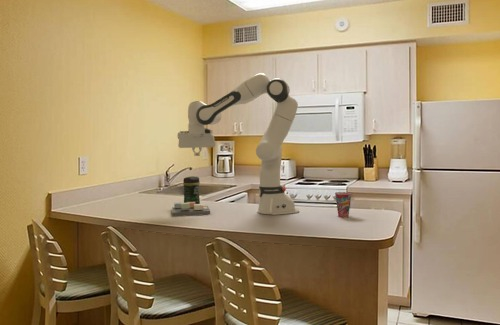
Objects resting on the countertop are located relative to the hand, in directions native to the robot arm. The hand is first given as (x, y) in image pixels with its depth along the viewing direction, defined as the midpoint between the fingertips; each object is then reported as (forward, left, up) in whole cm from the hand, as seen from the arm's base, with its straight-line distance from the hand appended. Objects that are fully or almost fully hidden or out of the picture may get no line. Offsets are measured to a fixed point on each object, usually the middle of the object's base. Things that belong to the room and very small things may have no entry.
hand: (197, 155), depth 246 cm
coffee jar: (+3, -13, -31) cm, 34 cm away
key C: (+4, -1, -29) cm, 29 cm away
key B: (+8, +7, -28) cm, 30 cm away
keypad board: (+4, +3, -31) cm, 32 cm away
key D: (+11, -1, -29) cm, 31 cm away
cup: (-71, +37, -31) cm, 86 cm away
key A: (+1, +7, -29) cm, 30 cm away
